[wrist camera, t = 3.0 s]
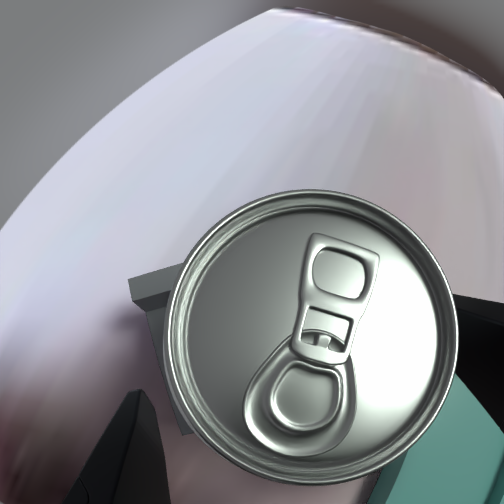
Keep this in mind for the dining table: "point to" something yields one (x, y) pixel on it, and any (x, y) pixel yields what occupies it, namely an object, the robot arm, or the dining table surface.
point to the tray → (449, 459)
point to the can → (310, 338)
